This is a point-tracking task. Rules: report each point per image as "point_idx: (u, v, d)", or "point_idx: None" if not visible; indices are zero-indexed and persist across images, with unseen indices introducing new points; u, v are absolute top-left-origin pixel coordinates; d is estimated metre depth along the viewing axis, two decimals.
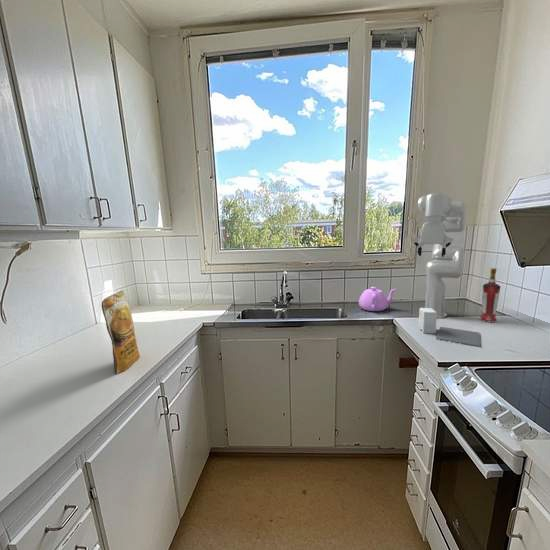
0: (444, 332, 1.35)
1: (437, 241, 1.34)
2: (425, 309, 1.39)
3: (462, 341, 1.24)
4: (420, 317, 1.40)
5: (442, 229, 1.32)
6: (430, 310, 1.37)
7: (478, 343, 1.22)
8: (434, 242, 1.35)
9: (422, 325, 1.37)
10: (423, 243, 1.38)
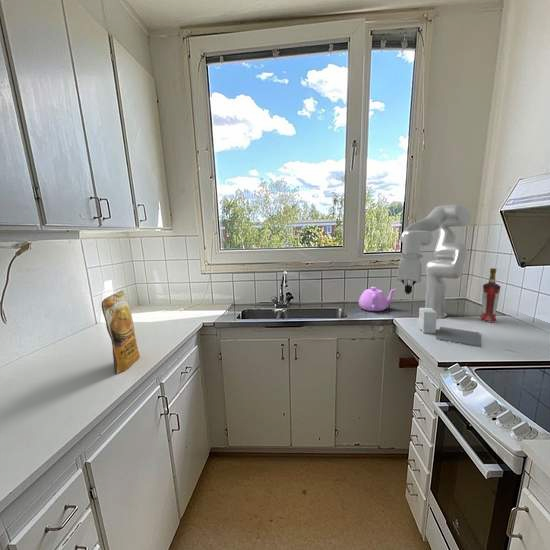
0: (444, 332, 1.35)
1: (413, 278, 1.37)
2: (425, 309, 1.39)
3: (462, 341, 1.24)
4: (420, 317, 1.40)
5: (418, 266, 1.35)
6: (430, 310, 1.37)
7: (478, 343, 1.22)
8: (410, 278, 1.38)
9: (422, 325, 1.37)
10: (400, 278, 1.41)
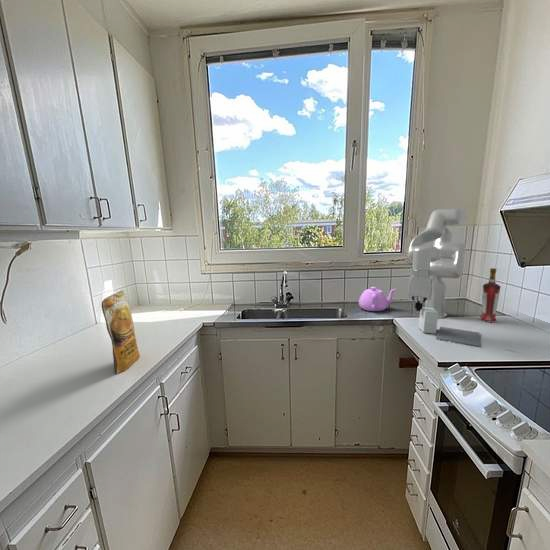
0: (444, 332, 1.35)
1: (424, 295, 1.36)
2: (426, 309, 1.38)
3: (462, 341, 1.24)
4: (421, 316, 1.40)
5: (428, 283, 1.34)
6: (431, 310, 1.37)
7: (478, 343, 1.22)
8: (421, 295, 1.36)
9: (422, 324, 1.37)
10: (410, 295, 1.39)
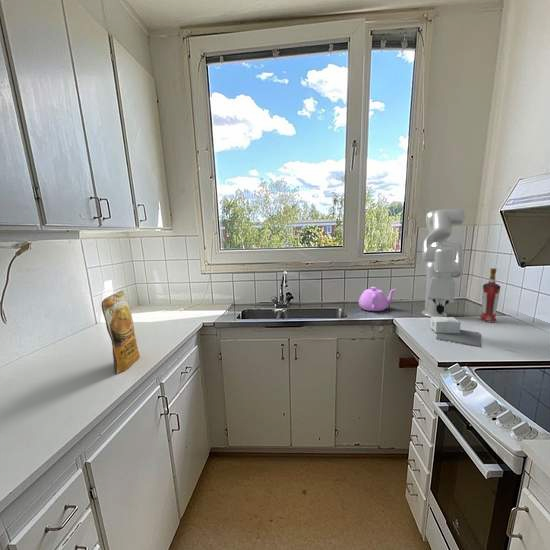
0: None
1: (446, 297, 1.30)
2: None
3: (462, 341, 1.24)
4: (446, 318, 1.38)
5: (451, 285, 1.29)
6: None
7: (478, 343, 1.22)
8: (443, 298, 1.31)
9: (442, 320, 1.35)
10: (432, 297, 1.34)
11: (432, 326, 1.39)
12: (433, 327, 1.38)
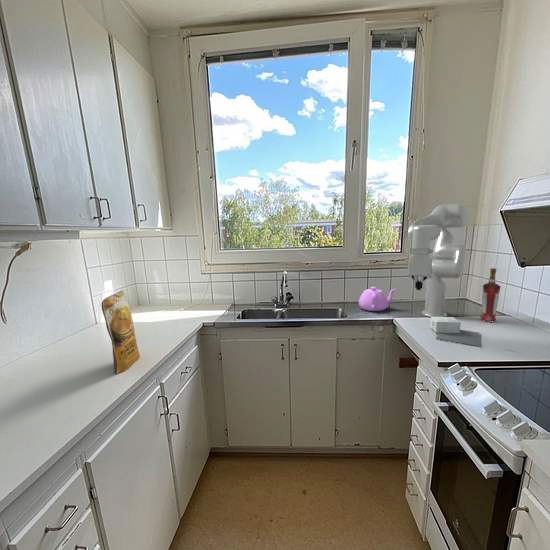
0: None
1: (424, 273, 1.35)
2: None
3: (462, 341, 1.24)
4: (446, 318, 1.38)
5: (428, 262, 1.33)
6: None
7: (478, 343, 1.22)
8: (421, 274, 1.35)
9: (442, 320, 1.35)
10: (410, 274, 1.38)
11: (432, 326, 1.39)
12: (433, 327, 1.38)
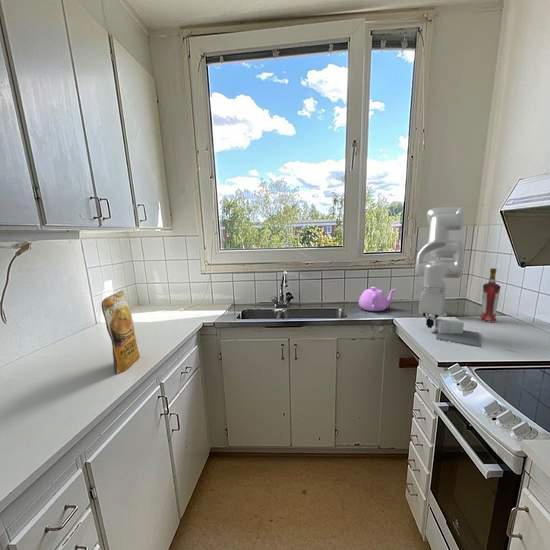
0: None
1: (435, 312, 1.34)
2: None
3: (462, 341, 1.24)
4: (448, 318, 1.37)
5: (440, 301, 1.32)
6: None
7: (478, 343, 1.22)
8: (433, 312, 1.34)
9: (446, 321, 1.34)
10: (422, 312, 1.37)
11: (435, 326, 1.38)
12: (436, 328, 1.37)
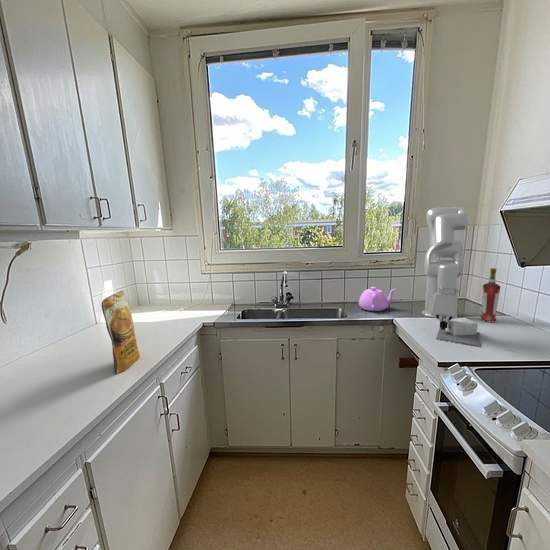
0: (444, 332, 1.35)
1: (450, 314, 1.30)
2: None
3: (462, 341, 1.24)
4: (460, 319, 1.35)
5: (455, 302, 1.29)
6: None
7: (478, 343, 1.22)
8: (447, 314, 1.31)
9: (460, 322, 1.31)
10: (435, 313, 1.34)
11: (448, 329, 1.35)
12: (450, 330, 1.33)
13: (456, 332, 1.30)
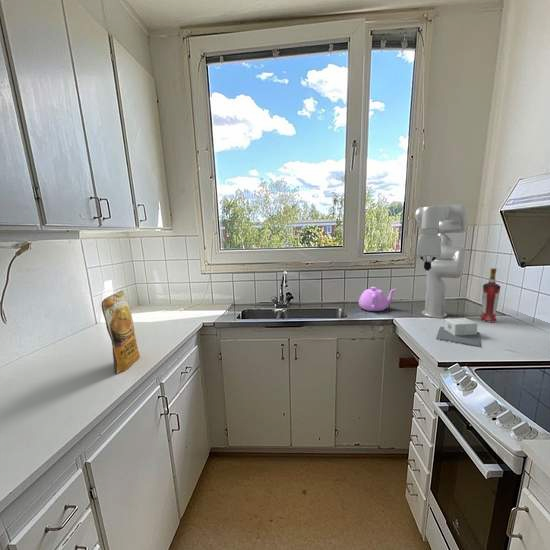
0: (444, 332, 1.35)
1: (433, 253, 1.35)
2: None
3: (462, 341, 1.24)
4: (460, 319, 1.35)
5: (438, 241, 1.34)
6: None
7: (478, 343, 1.22)
8: (430, 254, 1.36)
9: (460, 322, 1.31)
10: (419, 255, 1.39)
11: (448, 329, 1.35)
12: (450, 330, 1.33)
13: (456, 332, 1.30)
